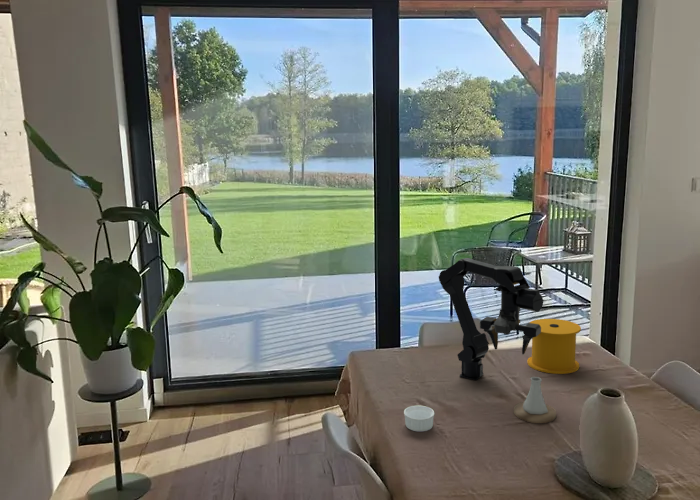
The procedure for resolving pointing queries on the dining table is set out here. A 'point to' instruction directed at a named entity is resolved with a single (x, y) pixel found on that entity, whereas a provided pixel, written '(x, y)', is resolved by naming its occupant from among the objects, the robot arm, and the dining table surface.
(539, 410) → the flask
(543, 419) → the brass disc
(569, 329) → the spool
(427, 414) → the ramekin
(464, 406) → the dining table surface
